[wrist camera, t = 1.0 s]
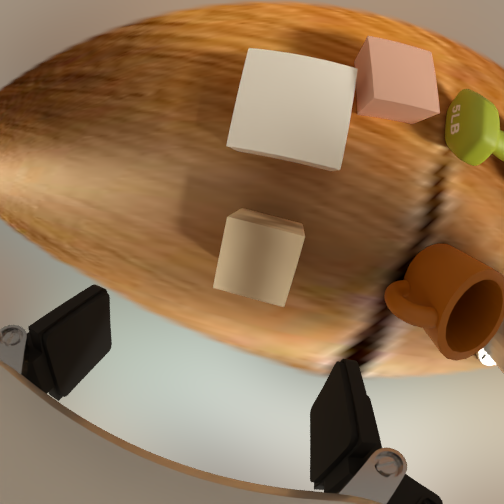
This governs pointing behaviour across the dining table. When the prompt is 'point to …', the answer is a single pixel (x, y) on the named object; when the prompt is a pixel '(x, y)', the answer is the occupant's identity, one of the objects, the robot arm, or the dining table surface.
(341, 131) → the base block
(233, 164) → the dining table surface
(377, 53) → the pink cube
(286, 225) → the maple cube
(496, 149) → the dumbbell
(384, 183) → the dining table surface
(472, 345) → the mug
